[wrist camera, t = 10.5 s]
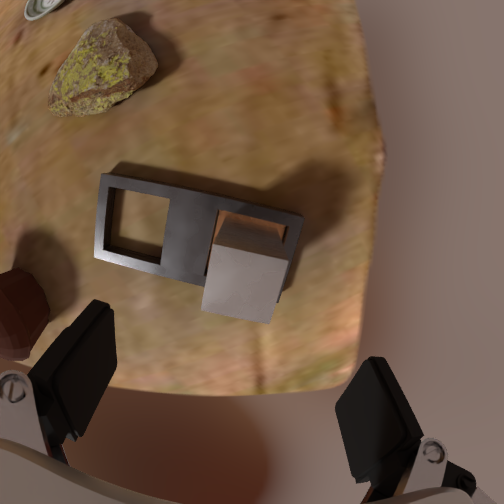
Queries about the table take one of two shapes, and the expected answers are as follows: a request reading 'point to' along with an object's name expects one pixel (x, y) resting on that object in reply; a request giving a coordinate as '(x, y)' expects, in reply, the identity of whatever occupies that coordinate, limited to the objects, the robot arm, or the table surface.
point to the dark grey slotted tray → (186, 227)
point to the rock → (101, 70)
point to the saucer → (40, 8)
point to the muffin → (20, 314)
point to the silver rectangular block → (245, 271)
